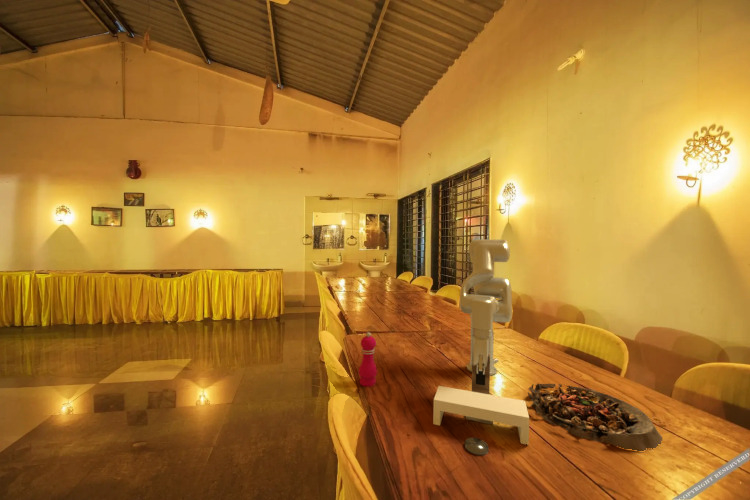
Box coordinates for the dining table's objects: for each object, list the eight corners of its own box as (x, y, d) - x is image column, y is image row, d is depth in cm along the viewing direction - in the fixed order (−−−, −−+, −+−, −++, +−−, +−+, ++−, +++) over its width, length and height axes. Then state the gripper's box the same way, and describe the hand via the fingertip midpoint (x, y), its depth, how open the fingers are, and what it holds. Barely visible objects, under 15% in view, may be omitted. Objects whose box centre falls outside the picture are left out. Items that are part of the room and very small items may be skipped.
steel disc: (474, 439, 85) (474, 435, 85) (493, 451, 80) (493, 446, 80) (459, 446, 82) (460, 442, 82) (478, 459, 77) (478, 454, 77)
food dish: (505, 404, 107) (506, 381, 107) (568, 390, 120) (567, 370, 120) (618, 467, 75) (618, 435, 75) (686, 438, 88) (686, 411, 88)
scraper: (469, 391, 113) (470, 351, 113) (492, 394, 110) (492, 354, 110) (465, 419, 94) (466, 371, 94) (493, 424, 92) (493, 375, 91)
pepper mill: (374, 388, 114) (375, 335, 114) (356, 386, 116) (357, 334, 116) (378, 380, 121) (379, 330, 121) (360, 378, 123) (361, 329, 123)
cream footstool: (438, 408, 101) (438, 385, 101) (524, 425, 92) (524, 400, 92) (433, 424, 91) (433, 399, 91) (528, 445, 82) (529, 417, 82)
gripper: (471, 326, 119) (470, 372, 119) (469, 337, 104) (468, 390, 104) (492, 328, 116) (491, 375, 117) (492, 340, 101) (491, 394, 101)
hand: (480, 381), depth 110 cm, fingers closed on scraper, 3 cm apart
